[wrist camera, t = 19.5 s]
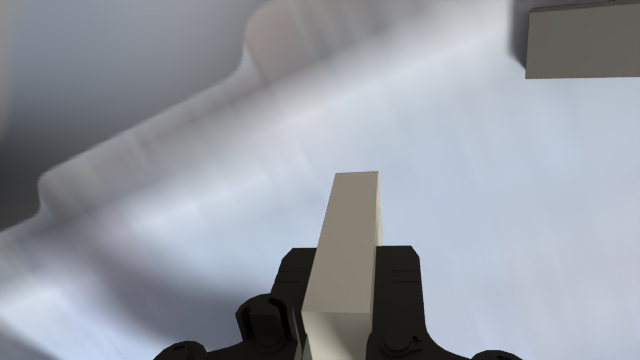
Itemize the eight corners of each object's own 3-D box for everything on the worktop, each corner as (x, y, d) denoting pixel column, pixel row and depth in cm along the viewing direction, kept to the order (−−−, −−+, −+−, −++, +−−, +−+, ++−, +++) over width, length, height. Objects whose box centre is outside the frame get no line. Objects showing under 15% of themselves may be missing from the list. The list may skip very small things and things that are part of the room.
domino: (525, 78, 34) (686, 76, 29) (529, 13, 31) (705, -2, 27) (527, 71, 35) (681, 67, 30) (532, 8, 33) (698, -7, 28)
